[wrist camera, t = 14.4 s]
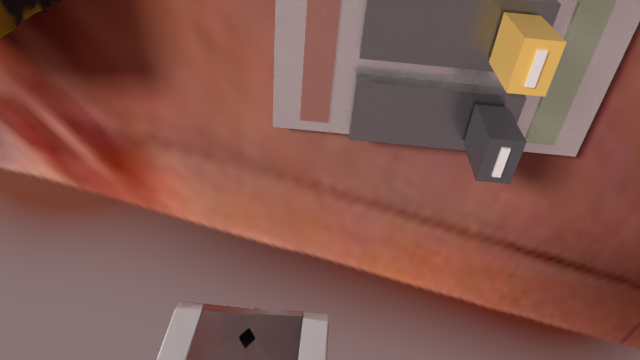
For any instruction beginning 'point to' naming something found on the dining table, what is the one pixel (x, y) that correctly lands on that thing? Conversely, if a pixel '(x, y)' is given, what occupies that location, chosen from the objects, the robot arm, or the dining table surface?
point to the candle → (20, 12)
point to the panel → (438, 68)
